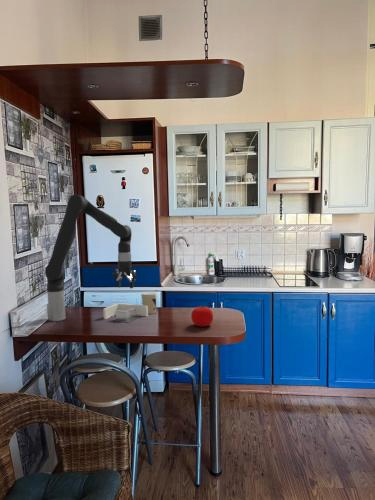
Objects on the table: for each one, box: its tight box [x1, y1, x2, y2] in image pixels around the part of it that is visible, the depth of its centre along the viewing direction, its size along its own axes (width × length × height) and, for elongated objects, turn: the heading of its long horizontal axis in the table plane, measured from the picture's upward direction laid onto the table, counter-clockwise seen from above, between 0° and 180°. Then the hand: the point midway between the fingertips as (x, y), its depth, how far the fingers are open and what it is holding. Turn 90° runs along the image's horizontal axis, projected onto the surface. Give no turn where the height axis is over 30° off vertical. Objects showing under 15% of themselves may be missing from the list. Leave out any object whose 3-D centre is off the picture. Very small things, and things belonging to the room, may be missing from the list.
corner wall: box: [102, 302, 149, 320], centre depth 220 cm, size 21×15×6 cm
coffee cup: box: [140, 291, 157, 315], centre depth 229 cm, size 9×9×12 cm
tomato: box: [190, 305, 214, 328], centre depth 200 cm, size 12×12×10 cm
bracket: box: [115, 307, 137, 320], centre depth 218 cm, size 10×7×5 cm
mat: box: [113, 315, 140, 324], centre depth 217 cm, size 10×12×1 cm
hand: (125, 287), depth 217 cm, fingers open, 8 cm apart
